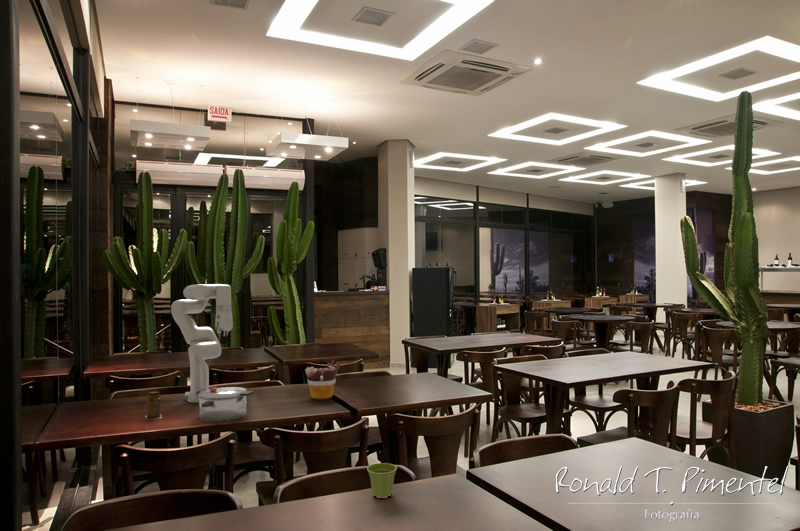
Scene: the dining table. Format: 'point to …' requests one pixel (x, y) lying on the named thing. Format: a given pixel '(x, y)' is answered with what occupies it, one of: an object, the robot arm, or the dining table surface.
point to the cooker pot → (222, 408)
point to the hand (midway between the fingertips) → (223, 343)
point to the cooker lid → (223, 393)
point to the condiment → (153, 406)
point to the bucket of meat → (322, 381)
